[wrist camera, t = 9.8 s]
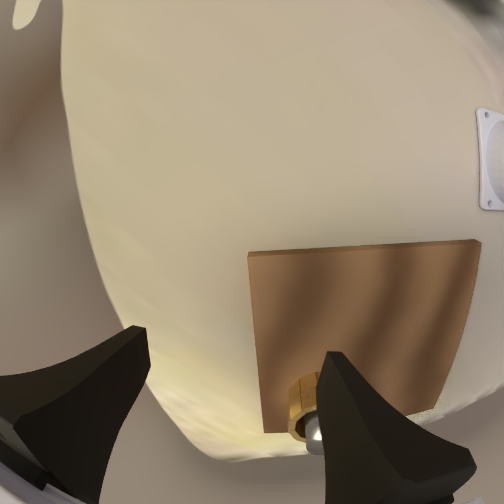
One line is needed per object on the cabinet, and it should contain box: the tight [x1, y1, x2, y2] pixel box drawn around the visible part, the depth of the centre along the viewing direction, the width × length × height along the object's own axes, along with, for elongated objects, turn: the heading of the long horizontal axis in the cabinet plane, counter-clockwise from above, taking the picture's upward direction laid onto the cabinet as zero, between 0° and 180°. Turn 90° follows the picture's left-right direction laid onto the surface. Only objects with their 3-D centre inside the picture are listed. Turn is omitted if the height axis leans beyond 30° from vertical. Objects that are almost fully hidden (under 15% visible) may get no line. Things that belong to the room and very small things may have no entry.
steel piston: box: [304, 410, 324, 455], centre depth 19 cm, size 3×3×6 cm
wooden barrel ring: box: [287, 372, 320, 443], centre depth 20 cm, size 5×5×4 cm
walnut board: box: [247, 239, 481, 433], centre depth 20 cm, size 18×18×1 cm
